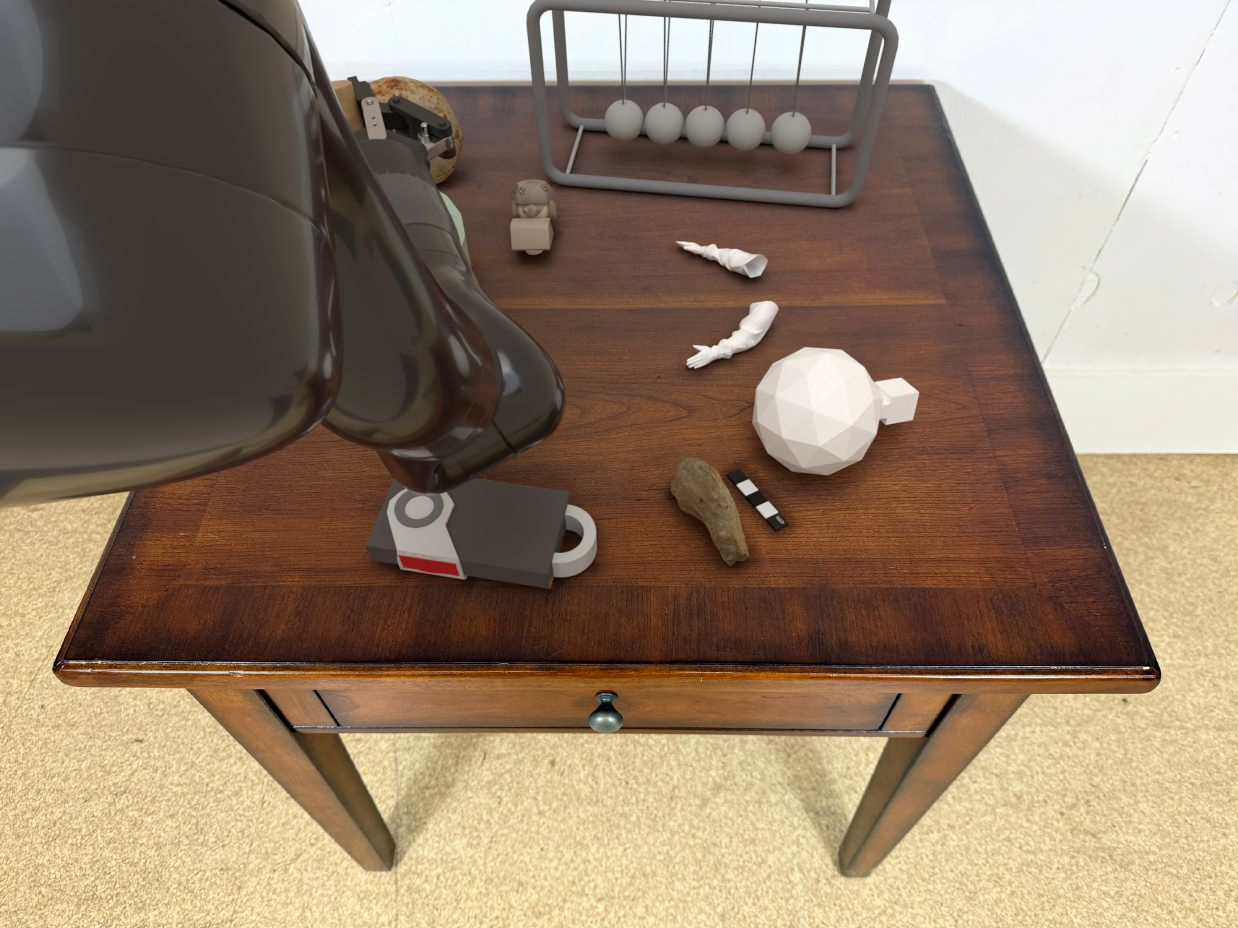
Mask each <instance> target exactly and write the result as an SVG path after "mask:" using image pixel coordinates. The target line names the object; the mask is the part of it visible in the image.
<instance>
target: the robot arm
mask: <svg viewBox="0 0 1238 928" xmlns="http://www.w3.org/2000/svg"><path fill="white" fill-rule="evenodd" d="M346 80H349V81H351V82H352V86H353V89H354V92H355V97H356V100H357V104H358V107H359V110H360V114H361V117H362V121H363V124H364V127H365V128H364V129H362V130H359V131H357V132H353V130H352V128H351V126H350V124H349V122H348V120H347V118H346V116H345V114H344V111H343V109H342V107H341V105H340V103H339V100H338V98H337V95H336V93H335V91H334V88H333V86H332V83H331V82H332V81H331V79H330V77H329V73H328V72H327V69H326V66H325V63H324V62H323V59H322V56H321V54H320V51H319V48H318V46H317V44H316V40H315V39H314V37H313V34H312V31H311V29H310V27H309V24H308V22H307V19H306V17H305V15H304V11H303V9H302V7H301V5H300V3H299V0H0V510H4V509H12V508H13V509H14V508H21V507H30V506H38V505H45V504H46V505H47V504H52V503H60V502H65V501H67V502H68V501H74V500H80V499H87V498H93V497H101V496H108V495H115V494H121V493H127V492H134V491H135V492H136V491H141V490H142V491H143V490H147V489H152V488H157V487H162V486H166V485H171V484H176V483H182V482H186V481H190V480H194V479H199V478H201V477H205V476H209V475H212V474H216V473H219V472H222V471H226V470H230V469H233V468H237V467H241V466H243V465H246V464H249V463H251V462H254V461H257V460H260V459H262V458H264V457H267V456H269V455H272V454H274V453H277V452H279V451H282V450H283V449H285V448H286V447H288V446H290V445H292V444H293V443H295V442H296V441H298V440H300V439H302V438H304V437H305V436H306V435H308V434H310V433H311V432H312V431H313V430H315V429H316V428H317V427H318V426H319V425H320V426H322V427H323V428H324V429H326V430H328V431H329V432H331V433H333V434H334V435H335V436H338V437H339V438H341V439H343V440H345V441H347V442H349V443H352V444H355V445H357V446H360V447H363V448H366V449H369V450H373V451H375V452H376V453H377V455H378V457H379V459H380V461H381V462H382V464H383V466H384V467H385V468H386V470H387V471H388V472H389V474H390V475H391V476H392V478H393V480H394V479H395V480H396V481H397V482H398V483H399V484H401V485H402V486H403V487H404V488H405V489H407V490H409V491H410V492H412V493H414V494H417V495H421V496H432V495H438V494H442V493H446V492H448V491H451V490H453V489H456V488H458V487H460V486H462V485H464V484H465V483H467V482H469V481H471V480H473V479H475V478H479V476H481V475H483V474H485V473H487V472H489V471H491V470H493V469H495V468H497V467H499V466H501V465H503V464H504V463H506V462H508V461H511V460H512V459H514V458H516V457H518V455H519V454H523V453H525V452H527V451H529V450H530V449H533V448H535V447H536V446H538V445H539V444H541V443H543V442H545V441H547V440H548V439H549V438H550V437H552V436H553V435H554V434H555V433H556V432H557V430H558V429H559V427H560V425H561V424H562V422H563V420H564V415H565V412H566V407H567V406H566V405H567V396H566V387H565V383H564V380H563V377H562V374H561V371H560V370H559V369H558V367H557V365H556V363H555V362H554V360H553V358H552V357H551V356H550V354H549V353H548V352H547V350H546V349H545V348H544V347H543V346H542V345H541V343H540V342H539V341H537V340H536V339H535V338H534V336H533V335H532V334H531V333H530V332H528V331H527V330H526V328H524V327H523V326H522V325H520V324H519V323H518V322H517V321H516V320H515V319H513V318H512V317H511V316H510V315H508V313H506V312H505V311H504V310H503V309H502V308H501V307H499V306H498V305H497V304H496V303H495V302H494V301H493V300H492V298H490V296H489V295H488V294H487V293H486V291H485V290H484V288H483V287H482V285H481V283H480V281H479V280H478V278H477V276H476V274H475V272H474V270H473V268H471V267H472V265H471V266H470V264H469V262H468V259H467V257H466V255H465V253H464V251H463V249H462V246H461V243H460V238H459V234H458V231H457V228H456V226H455V223H454V221H453V219H452V217H451V215H450V213H449V210H448V208H447V206H446V204H445V202H444V200H443V198H442V196H441V194H440V192H441V191H440V190H439V188H438V185H437V184H435V182H434V180H433V178H432V175H431V173H430V168H431V164H430V160H432V159H434V158H435V157H437V156H439V157H441V158H443V159H452V158H454V157H455V156H456V155H457V152H456V147H455V142H454V136H453V131H452V126H451V122H450V121H449V120H447V119H445V118H443V117H441V116H439V115H437V114H436V113H434V112H432V111H430V110H428V109H426V108H424V107H422V106H420V105H418V104H416V103H414V102H412V101H410V100H408V99H406V98H404V97H402V96H394V97H391V98H390V99H389V100H388V103H381V102H379V101H378V99H377V98H376V97H375V95H374V93H373V91H372V89H371V87H370V84H369V83H370V82H367V80H362V81H359V78H358V76H357V75H352V76H348V77H346ZM390 130H393V131H390ZM439 191H440V192H439Z"/></svg>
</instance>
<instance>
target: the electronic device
mask: <svg viewBox="0 0 1238 928" xmlns="http://www.w3.org/2000/svg"><path fill="white" fill-rule="evenodd" d="M384 499H385V500H384V502H383V503H382V506H381V509H380V510H379V513H378V515H377V518H376V520H375V522H374V525H373V527H372V530H371V531H370V534H369V536H368V538H367V540H366V543H365V548H366V550H367V552H368V554H369V556H370V559H371V561H374V562H380V563H385V564H391V565H398V566H399V569H400V570H402V571H410V572H415V573H421V574H427V575H434V576H440V577H446V578H452V579H459V580H467V578H468V577H472V578H473V577H474V578H479V579H485V580H492V581H498V582H504V583H511V584H515V585H516V584H517V585H523V586H529V587H535V588H542V589H548V590H549V589H551V588H552V586H553V585H552V584H553V582H554V578H568V577H572V576H576V575H578V574H581V573H582V572H584V571H585V570H587V568H588V567H590V566H591V564H592V563H593V562H594V560H595V559H596V555H597V551H598V539H597V527H596V524H595V521H594V519H593V518H592V516H591V515H590V514H589V513H588V512H587V511H585V510H584V509H583V508H581V507H579V506H576V505H573V504H572V499H571V491H569V490H561V489H556V488H555V489H554V488H547V487H546V488H545V487H541V486H534V485H526V484H519V483H513V482H506V481H499V480H492V479H484V478H480V477H476V478H475V479H473V480H471V481H469V482H467V483H465V484H464V485H462V486H460V487H458V488H456V489H453V490H451V491H448V492H446V493H442V494H438V495H432V496H421V495H417V494H414V493H412V492H410V491H409V490H407V489H405V488H404V487H403V486H402V485H401V484H399V483H398V482H397V481H396V480H395V479H394V478H393V481H392V482H391V484H390V487H389V490H388V492H387V494H386V497H385V498H384ZM567 530H568V531H572V532H574V533H576V534H577V535H579V536H580V537H581V538H582V539H581V541H580V543H579V544H578V545H577V546H576V547H575V548H573V549H571V550H568V551H565V552H561V551H562V547H563V544H564V540H565V537H566V533H567Z"/></svg>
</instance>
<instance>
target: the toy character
mask: <svg viewBox="0 0 1238 928" xmlns="http://www.w3.org/2000/svg"><path fill="white" fill-rule="evenodd" d="M511 201H512V202H511V205H510V206H511V208H510V209H511V210H510V212H511V218H512V219H511V221H510V225H509V226H510V227H509V228H510V229H509V231H510V241H511V251H512V252H513V251H516V252H517V251H525V253H527V254H528V255H532V256H533V255H534V256H535V255H536V256H537V255H539V254H541V253H542V252H543V251H551V247H552V242H553V238H554V230H553V226H552V223H551V220H556V218H558V210H557V205H556V202H555V190H554V189H553V188H552V187H551V186H550V184H549V183H548V182H547V181H546V180H544V179H535V178H534V179H533V178H532V179H526V180H520V181H519V182H517V183H516V184H515V186H513V189H512V190H511Z"/></svg>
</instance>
